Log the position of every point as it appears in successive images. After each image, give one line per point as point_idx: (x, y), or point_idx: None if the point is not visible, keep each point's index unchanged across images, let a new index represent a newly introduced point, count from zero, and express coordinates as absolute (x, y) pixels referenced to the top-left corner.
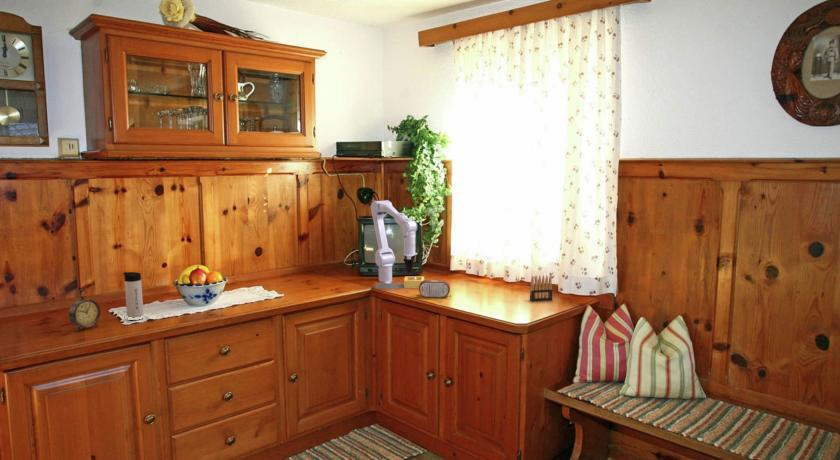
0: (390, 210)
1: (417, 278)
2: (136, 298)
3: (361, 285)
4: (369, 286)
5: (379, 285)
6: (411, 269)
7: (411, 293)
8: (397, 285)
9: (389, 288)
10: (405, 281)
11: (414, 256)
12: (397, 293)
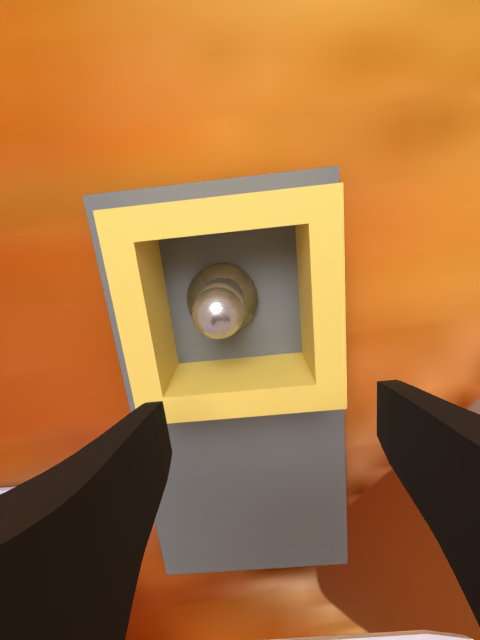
0: None
1: (147, 287)
2: None
3: (194, 635)
4: (216, 593)
5: (239, 551)
6: (431, 399)
7: (441, 292)
8: (224, 436)
9: (337, 477)
10: (344, 391)
11: (2, 571)
12: None
